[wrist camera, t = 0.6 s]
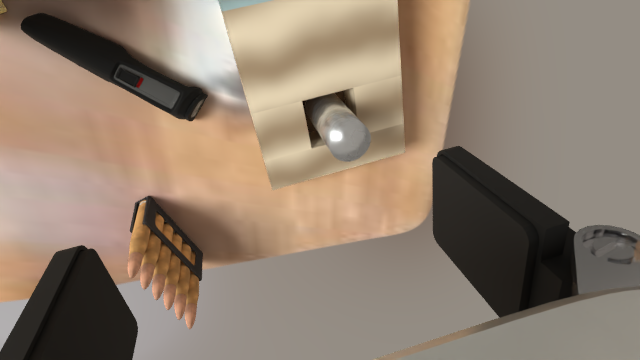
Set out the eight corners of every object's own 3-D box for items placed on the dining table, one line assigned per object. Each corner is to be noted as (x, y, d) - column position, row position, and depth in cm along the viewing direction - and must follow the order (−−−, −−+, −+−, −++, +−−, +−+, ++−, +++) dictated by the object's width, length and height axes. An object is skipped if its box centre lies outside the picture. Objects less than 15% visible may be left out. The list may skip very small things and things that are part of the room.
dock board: (185, -117, 31) (183, -125, 28) (370, -149, 33) (389, -160, 30) (267, 173, 46) (272, 190, 43) (391, 138, 48) (405, 152, 45)
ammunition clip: (134, 202, 44) (115, 276, 34) (149, 194, 44) (133, 266, 34) (190, 260, 50) (187, 337, 40) (203, 253, 50) (203, 329, 40)
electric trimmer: (43, -3, 33) (28, 1, 30) (210, 91, 40) (210, 101, 37) (27, 36, 34) (12, 42, 31) (192, 121, 41) (191, 132, 38)
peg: (301, 93, 42) (326, 128, 34) (336, 85, 43) (368, 116, 35) (308, 126, 45) (332, 166, 36) (341, 118, 45) (372, 155, 37)
